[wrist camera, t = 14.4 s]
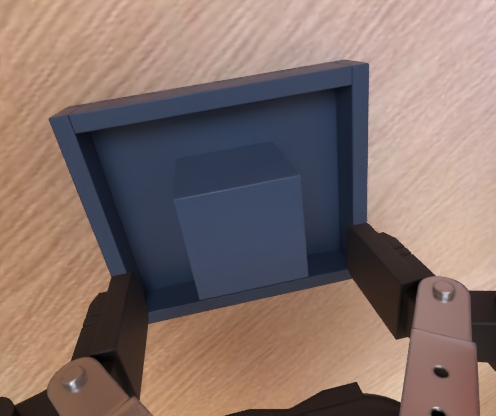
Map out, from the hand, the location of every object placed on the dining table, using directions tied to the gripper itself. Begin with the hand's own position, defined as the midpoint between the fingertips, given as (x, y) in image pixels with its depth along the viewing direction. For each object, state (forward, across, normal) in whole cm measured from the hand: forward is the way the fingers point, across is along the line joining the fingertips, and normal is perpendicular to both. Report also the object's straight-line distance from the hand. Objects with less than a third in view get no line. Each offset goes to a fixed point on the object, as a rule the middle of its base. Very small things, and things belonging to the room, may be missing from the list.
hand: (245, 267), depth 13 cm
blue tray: (+7, 0, 0) cm, 7 cm away
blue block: (+7, 0, 0) cm, 7 cm away
